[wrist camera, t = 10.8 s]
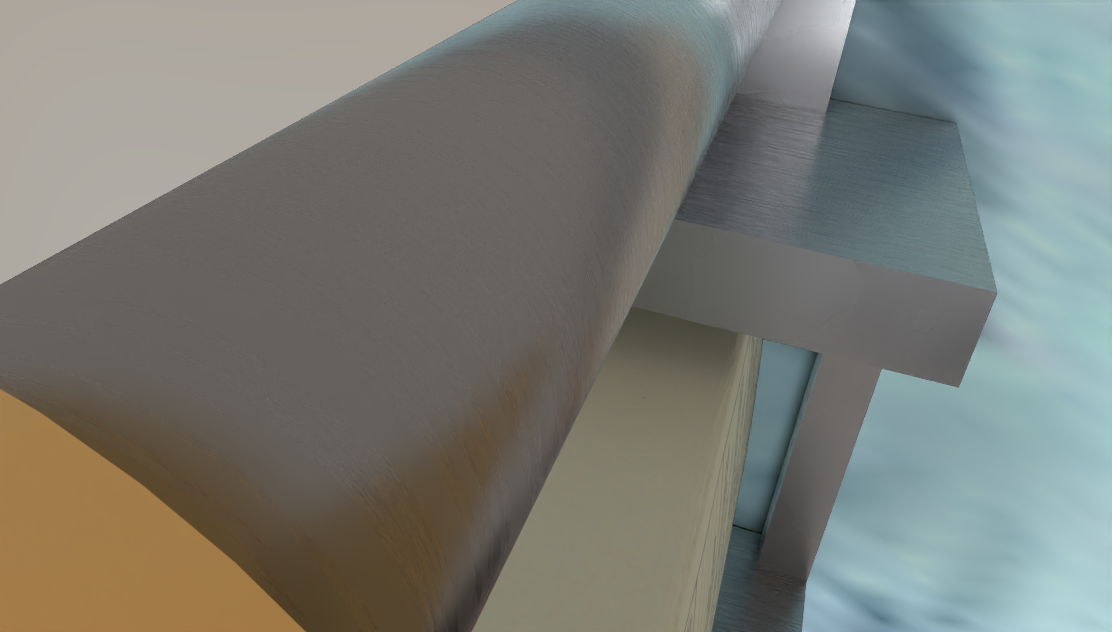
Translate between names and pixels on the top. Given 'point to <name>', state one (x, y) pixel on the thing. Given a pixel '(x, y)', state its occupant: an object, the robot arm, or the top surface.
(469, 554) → the bracket
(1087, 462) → the top surface
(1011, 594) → the top surface
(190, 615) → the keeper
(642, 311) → the skincare box
